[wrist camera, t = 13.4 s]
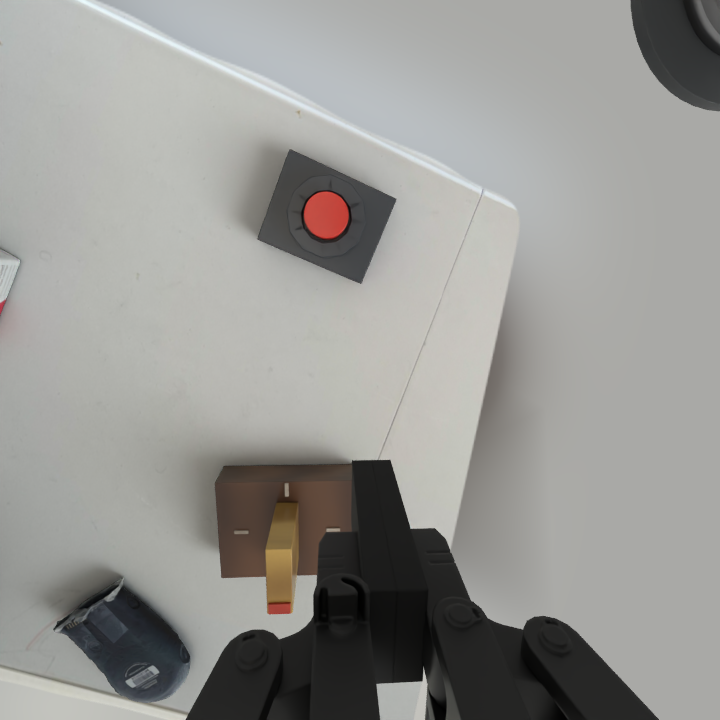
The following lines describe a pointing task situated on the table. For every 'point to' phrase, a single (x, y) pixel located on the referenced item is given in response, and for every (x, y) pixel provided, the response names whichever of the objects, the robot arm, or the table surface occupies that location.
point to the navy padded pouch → (128, 644)
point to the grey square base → (294, 237)
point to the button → (326, 215)
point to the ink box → (6, 274)
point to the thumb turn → (282, 559)
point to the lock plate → (257, 505)
